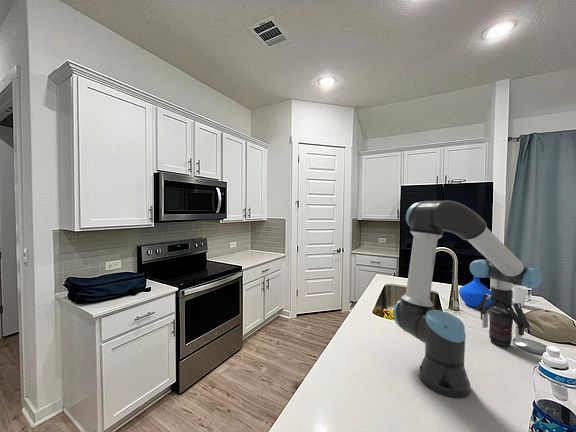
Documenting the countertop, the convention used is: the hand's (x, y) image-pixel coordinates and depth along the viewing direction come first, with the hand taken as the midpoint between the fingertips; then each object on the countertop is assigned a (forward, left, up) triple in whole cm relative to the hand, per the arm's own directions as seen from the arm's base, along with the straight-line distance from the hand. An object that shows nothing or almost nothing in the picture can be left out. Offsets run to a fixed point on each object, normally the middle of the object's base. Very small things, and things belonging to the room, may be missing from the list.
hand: (500, 334), depth 113 cm
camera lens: (0, 0, -5) cm, 5 cm away
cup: (+64, +30, -5) cm, 71 cm away
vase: (+37, +37, -5) cm, 52 cm away
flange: (+10, -6, -4) cm, 12 cm away
